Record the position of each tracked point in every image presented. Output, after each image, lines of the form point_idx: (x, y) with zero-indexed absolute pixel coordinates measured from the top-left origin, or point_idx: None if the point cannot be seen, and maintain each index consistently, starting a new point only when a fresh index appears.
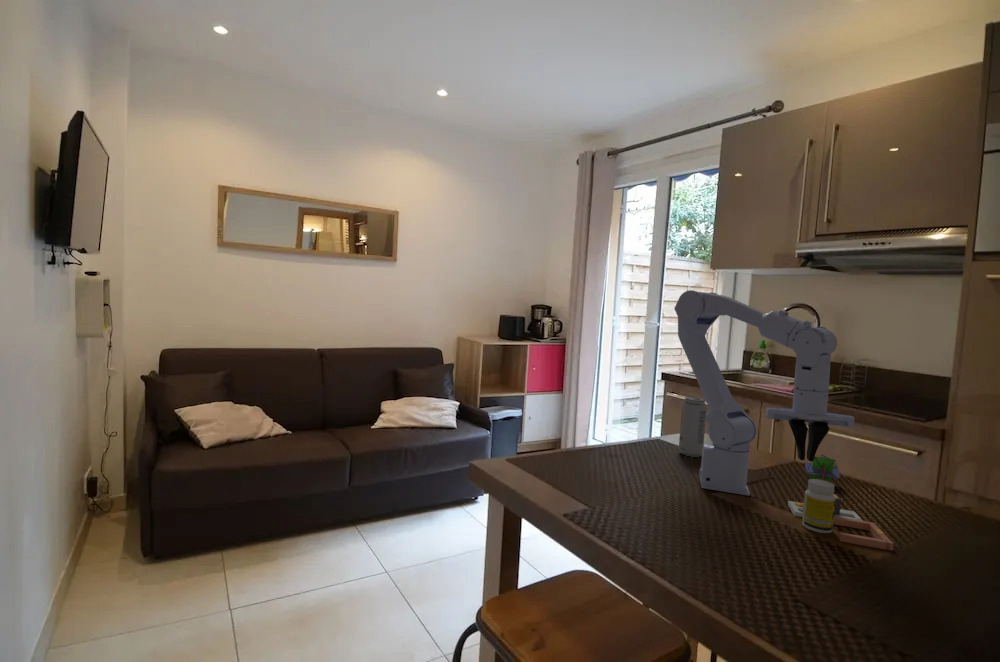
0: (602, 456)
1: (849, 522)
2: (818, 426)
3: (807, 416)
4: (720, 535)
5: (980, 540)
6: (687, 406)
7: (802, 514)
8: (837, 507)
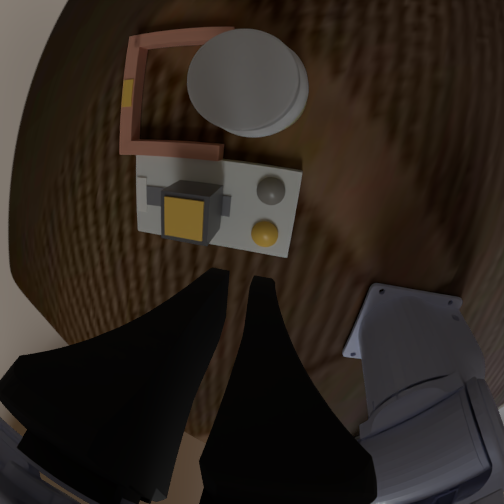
0: None
1: (171, 141)
2: (59, 441)
3: None
4: (498, 33)
5: (15, 187)
6: None
7: (281, 168)
8: (178, 185)
